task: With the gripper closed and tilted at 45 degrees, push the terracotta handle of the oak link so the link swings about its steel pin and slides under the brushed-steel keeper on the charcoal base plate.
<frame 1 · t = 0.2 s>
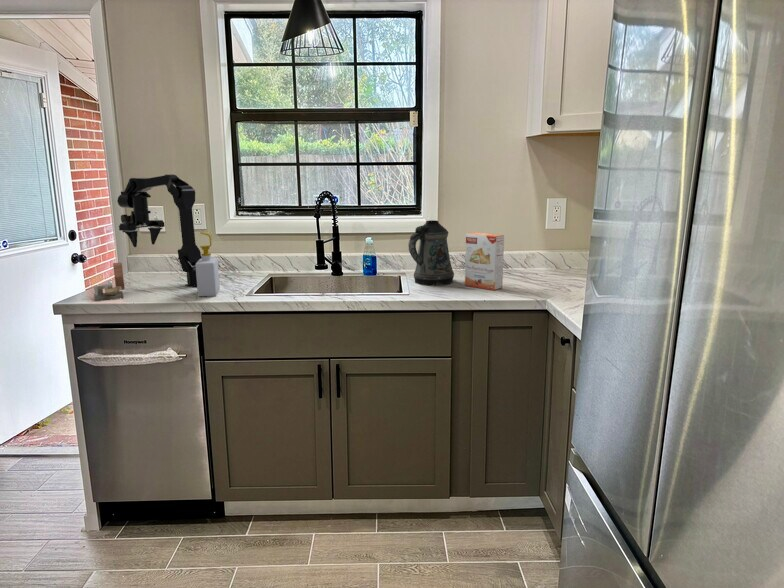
hand: (144, 245, 241), 15 cm above the countertop, tool pointing down, fingers open, 9 cm apart
soap bottle: (209, 294, 217), on the countertop
keeper: (103, 287, 211), on the base plate, point 4 cm above the countertop
beer stein: (432, 282, 234), on the countertop
cracker box: (483, 287, 224), on the countertop
base plate: (111, 298, 211), on the countertop
link: (114, 278, 214), point 6 cm above the countertop, hinge at 0.0°
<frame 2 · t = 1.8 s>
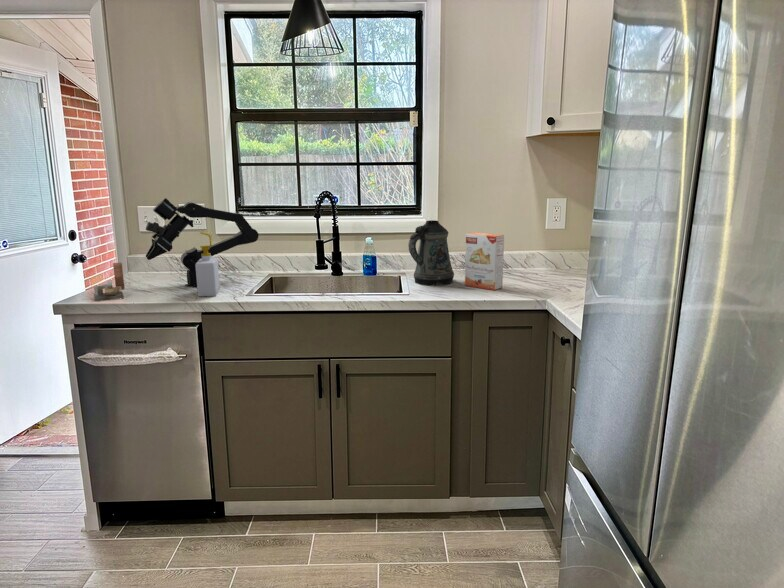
hand: (147, 258, 222), 13 cm above the countertop, tool tilted 45°, fingers open, 6 cm apart
nothing on the countertop moved.
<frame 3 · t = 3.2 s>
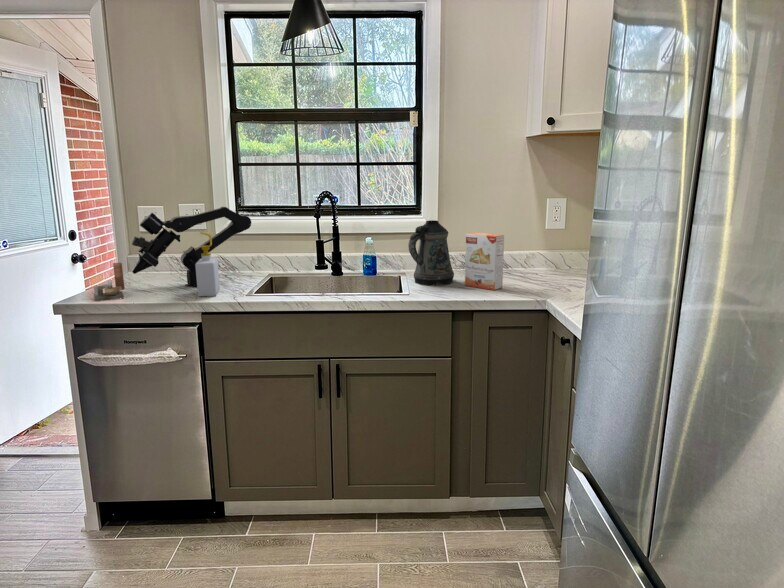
hand: (133, 273, 220), 7 cm above the countertop, tool tilted 45°, fingers closed
nothing on the countertop moved.
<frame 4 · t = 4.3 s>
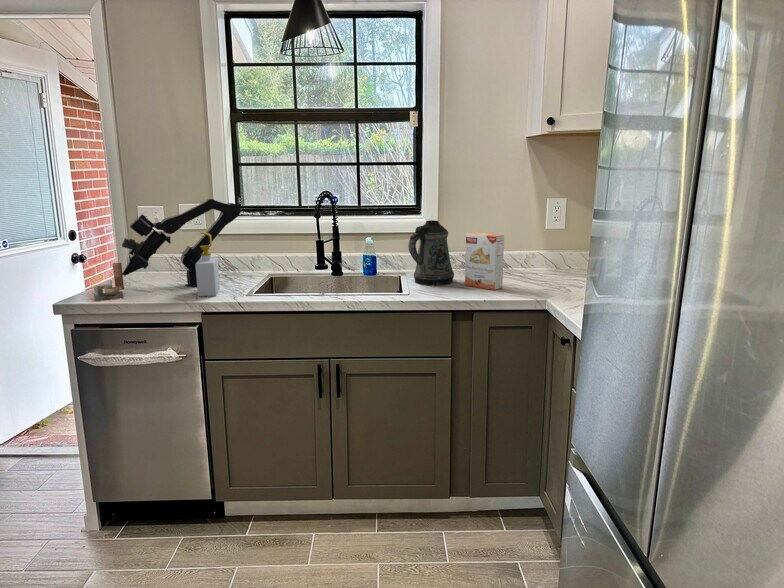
hand: (123, 274, 219), 7 cm above the countertop, tool tilted 45°, fingers closed, pressing on link
link: (113, 278, 214), point 6 cm above the countertop, hinge at 1.1°, touching gripper
everything else where it was.
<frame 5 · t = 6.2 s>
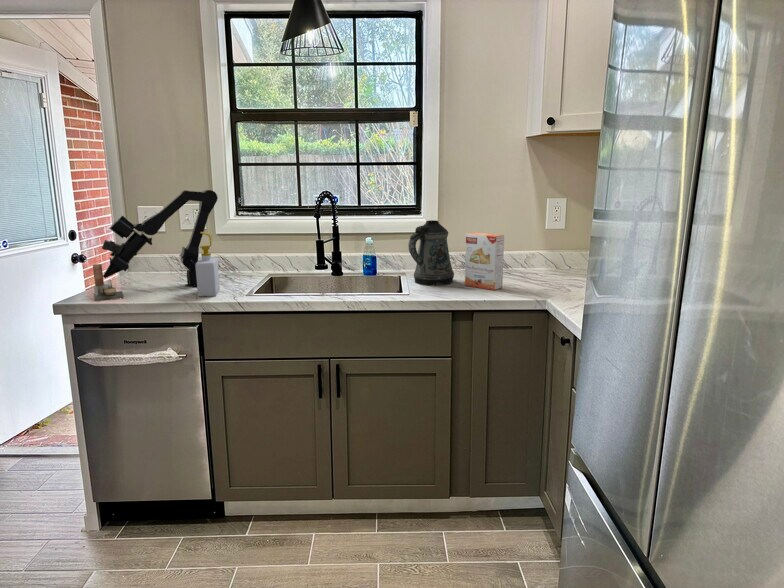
hand: (103, 277, 216), 6 cm above the countertop, tool tilted 45°, fingers closed
link: (104, 279, 212), point 6 cm above the countertop, hinge at 45.0°, touching gripper
everything else where it was.
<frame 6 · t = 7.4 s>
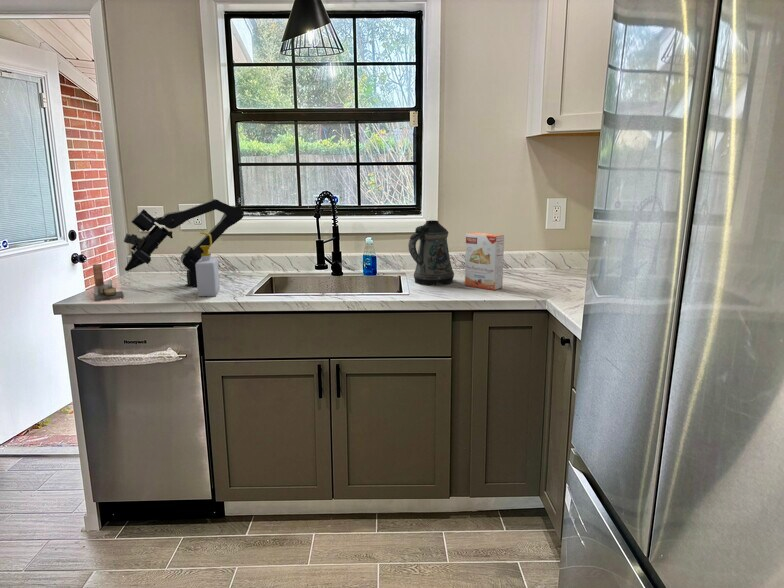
hand: (125, 270, 219), 9 cm above the countertop, tool tilted 45°, fingers closed
link: (104, 279, 212), point 6 cm above the countertop, hinge at 45.0°
everything else where it was.
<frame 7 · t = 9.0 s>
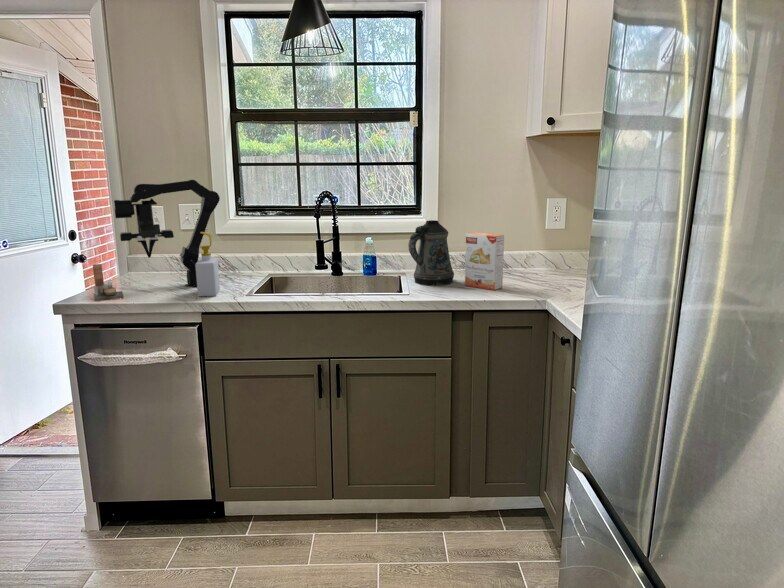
hand: (149, 257, 222), 13 cm above the countertop, tool pointing down, fingers closed
nothing on the countertop moved.
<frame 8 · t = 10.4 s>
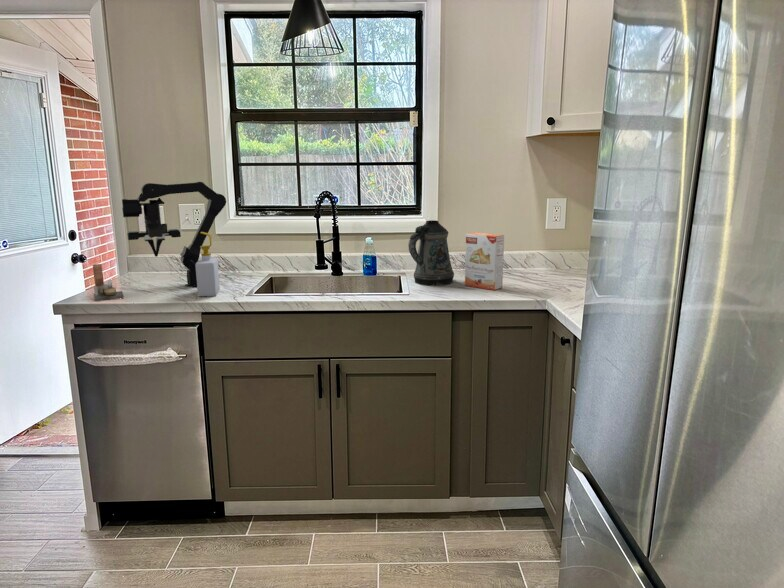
hand: (156, 256, 223), 13 cm above the countertop, tool pointing down, fingers closed
nothing on the countertop moved.
at the end: link at +45° (first picture: +0°) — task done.
